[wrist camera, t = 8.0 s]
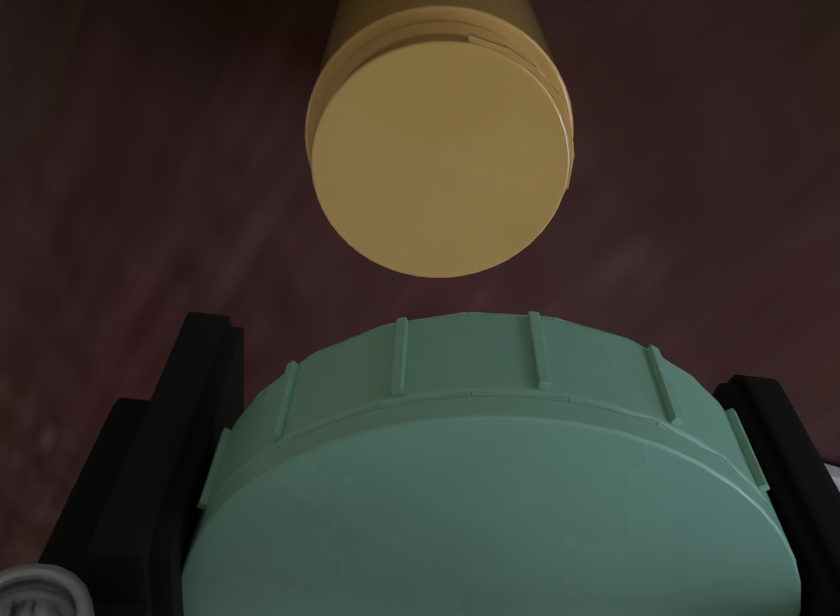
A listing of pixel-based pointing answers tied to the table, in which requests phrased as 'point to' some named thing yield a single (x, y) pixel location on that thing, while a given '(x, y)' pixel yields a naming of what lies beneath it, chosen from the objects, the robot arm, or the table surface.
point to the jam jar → (438, 132)
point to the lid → (487, 484)
